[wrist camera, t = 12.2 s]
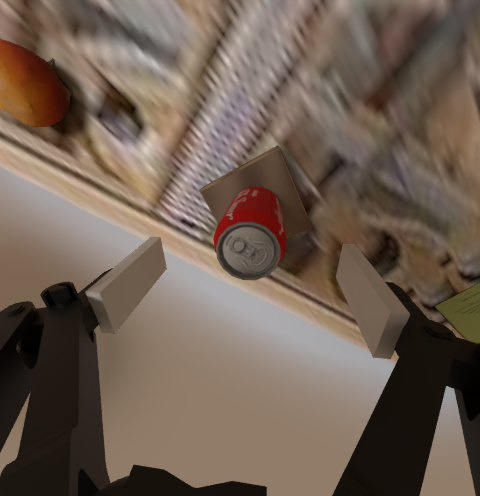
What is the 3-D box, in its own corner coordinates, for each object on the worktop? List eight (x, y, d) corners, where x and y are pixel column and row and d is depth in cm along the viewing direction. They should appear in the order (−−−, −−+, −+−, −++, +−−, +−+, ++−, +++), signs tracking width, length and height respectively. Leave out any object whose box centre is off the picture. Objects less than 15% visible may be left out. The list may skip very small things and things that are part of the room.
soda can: (291, 202, 27) (305, 242, 16) (263, 241, 30) (260, 297, 19) (247, 175, 26) (232, 198, 15) (223, 217, 29) (196, 262, 18)
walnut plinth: (277, 145, 28) (278, 146, 24) (308, 219, 32) (313, 229, 28) (206, 185, 31) (198, 190, 28) (241, 248, 35) (238, 260, 31)
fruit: (92, 91, 27) (16, 105, 22) (83, 127, 32) (23, 144, 28) (37, 17, 24) (-62, 14, 19) (39, 71, 30) (-37, 79, 25)
